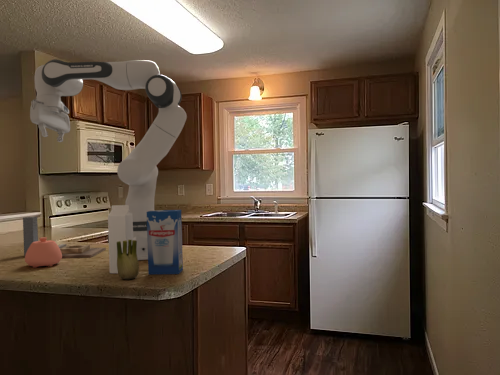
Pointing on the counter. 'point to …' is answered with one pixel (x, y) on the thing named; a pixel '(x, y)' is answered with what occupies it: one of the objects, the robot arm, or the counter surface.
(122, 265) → the fennel bulb
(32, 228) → the bar
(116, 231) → the milk
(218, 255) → the counter surface
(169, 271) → the milk carton
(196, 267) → the counter surface
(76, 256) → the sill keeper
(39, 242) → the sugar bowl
